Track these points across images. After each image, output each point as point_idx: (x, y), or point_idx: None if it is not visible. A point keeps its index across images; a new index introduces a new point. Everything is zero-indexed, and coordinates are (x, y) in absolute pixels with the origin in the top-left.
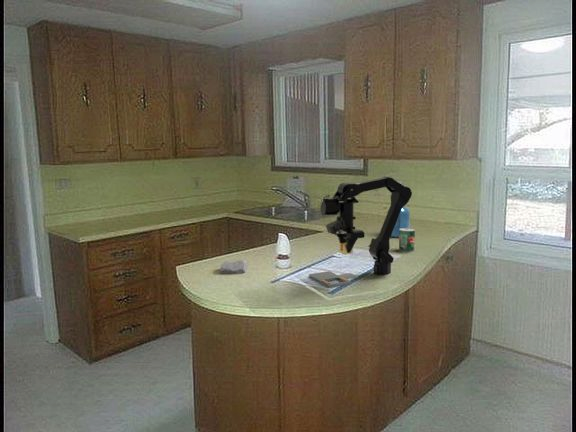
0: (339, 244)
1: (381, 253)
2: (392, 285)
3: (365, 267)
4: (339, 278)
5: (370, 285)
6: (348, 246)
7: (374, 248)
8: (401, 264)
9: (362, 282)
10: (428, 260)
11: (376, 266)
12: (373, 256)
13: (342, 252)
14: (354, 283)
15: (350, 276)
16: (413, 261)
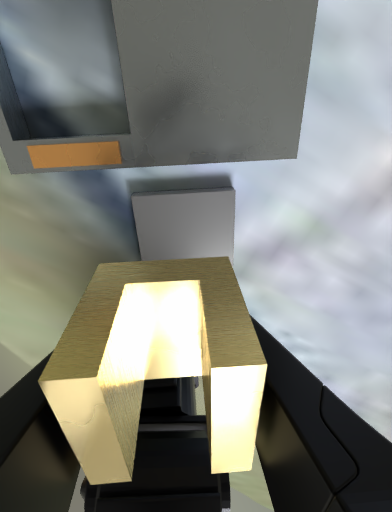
0: (253, 340)
1: (87, 484)
2: (16, 342)
3: (296, 358)
4: (106, 136)
5: (31, 269)
6: (6, 401)
7: (120, 507)
8: (254, 446)
9: (91, 258)
10: (247, 495)
11: (148, 383)
12: (192, 430)
13: (143, 270)
14: (85, 214)
15: (172, 239)
16: (261, 473)
